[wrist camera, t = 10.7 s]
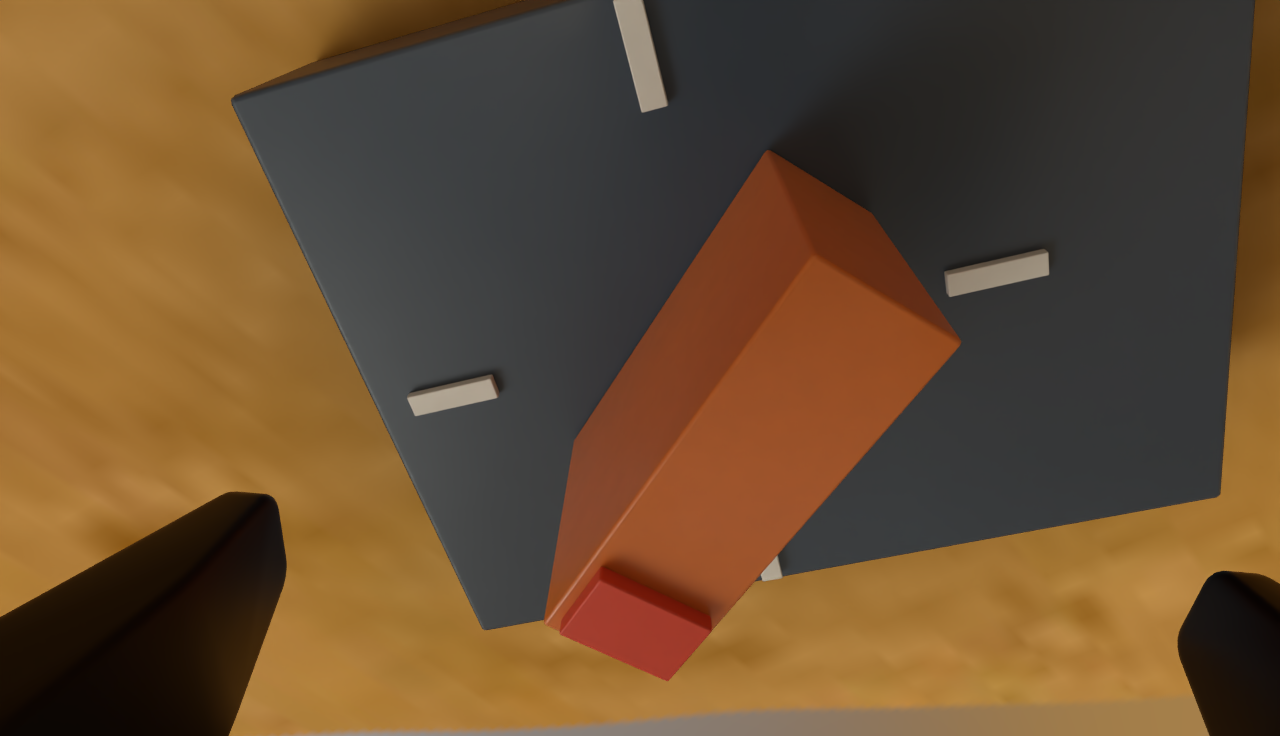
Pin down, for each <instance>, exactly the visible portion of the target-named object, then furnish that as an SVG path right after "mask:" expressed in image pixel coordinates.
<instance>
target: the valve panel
mask: <svg viewBox="0 0 1280 736" xmlns="http://www.w3.org/2000/svg"><path fill="white" fill-rule="evenodd" d="M1254 8H1255V0H525V1H521V2H518V3H515V4H511V5H508V6H504V7H501V8H497V9H494V10H491V11H487V12H484V13H480V14H477V15H473V16H470V17H467V18H463V19H460V20H456V21H453V22H450V23H446V24H443V25H439V26H436V27H432V28H429V29H426V30H422V31H419V32H415V33H412V34H408V35H405V36H402V37H398V38H395V39H391V40H388V41H385V42H381V43H378V44H374V45H371V46H367V47H364V48H361V49H357V50H354V51H350V52H347V53H344V54H340V55H337V56H333V57H330V58H326V59H323V60H320V61H316V62H313V63H310V64H308V65H305V66H303V67H301V68H298V69H296V70H294V71H291V72H289V73H287V74H284V75H282V76H280V77H277V78H275V79H272V80H270V81H268V82H265V83H263V84H261V85H258V86H256V87H254V88H251V89H249V90H247V91H244V92H242V93H240V94H237V95H235V96H234V97H233V98H232V99H231V102H232V106H233V108H234V110H235V112H236V114H237V116H238V118H239V121H240V123H241V125H242V127H243V129H244V131H245V133H246V135H247V137H248V139H249V141H250V144H251V146H252V148H253V150H254V152H255V154H256V156H257V158H258V160H259V162H260V164H261V167H262V169H263V171H264V173H265V175H266V177H267V179H268V181H269V183H270V185H271V187H272V190H273V192H274V194H275V196H276V198H277V200H278V202H279V204H280V206H281V208H282V211H283V213H284V215H285V217H286V219H287V221H288V223H289V225H290V227H291V229H292V231H293V234H294V236H295V238H296V240H297V242H298V244H299V246H300V248H301V250H302V252H303V254H304V257H305V259H306V261H307V263H308V265H309V267H310V269H311V271H312V273H313V275H314V277H315V280H316V282H317V284H318V286H319V288H320V290H321V292H322V294H323V296H324V298H325V300H326V303H327V305H328V307H329V309H330V311H331V313H332V315H333V317H334V319H335V321H336V323H337V326H338V328H339V330H340V332H341V334H342V336H343V338H344V340H345V342H346V344H347V346H348V349H349V351H350V353H351V355H352V357H353V359H354V361H355V363H356V365H357V367H358V369H359V372H360V374H361V376H362V378H363V380H364V382H365V384H366V386H367V388H368V390H369V393H370V395H371V397H372V399H373V401H374V403H375V405H376V407H377V409H378V411H379V413H380V416H381V418H382V420H383V422H384V424H385V426H386V428H387V430H388V432H389V434H390V436H391V439H392V441H393V443H394V445H395V447H396V449H397V451H398V453H399V455H400V457H401V459H402V462H403V464H404V466H405V468H406V470H407V472H408V474H409V476H410V478H411V480H412V482H413V485H414V487H415V489H416V491H417V493H418V495H419V497H420V499H421V501H422V503H423V505H424V508H425V510H426V512H427V514H428V516H429V518H430V520H431V522H432V524H433V526H434V528H435V531H436V533H437V535H438V537H439V539H440V541H441V543H442V545H443V547H444V549H445V551H446V554H447V556H448V558H449V560H450V562H451V564H452V566H453V568H454V570H455V572H456V575H457V577H458V579H459V581H460V583H461V585H462V587H463V589H464V591H465V593H466V595H467V598H468V600H469V602H470V604H471V606H472V608H473V610H474V612H475V614H476V616H477V618H478V621H479V623H480V625H481V627H482V629H484V630H490V629H496V628H501V627H507V626H512V625H518V624H523V623H529V622H534V621H540V620H544V617H545V611H546V605H547V599H548V593H549V587H550V581H551V575H552V569H553V563H554V557H555V551H556V545H557V540H558V534H559V528H560V522H561V516H562V510H563V504H564V498H565V492H566V486H567V480H568V474H569V468H570V462H571V456H572V450H573V444H574V440H575V439H576V437H577V436H578V434H579V433H580V431H581V429H582V428H583V426H584V425H585V423H586V422H587V420H588V419H589V417H590V416H591V414H592V413H593V411H594V410H595V408H596V407H597V405H598V404H599V402H600V401H601V399H602V398H603V396H604V395H605V393H606V392H607V390H608V389H609V387H610V386H611V384H612V383H613V381H614V380H615V378H616V377H617V375H618V374H619V372H620V371H621V369H622V367H623V366H624V364H625V363H626V361H627V360H628V358H629V357H630V355H631V354H632V352H633V351H634V349H635V348H636V346H637V345H638V343H639V342H640V340H641V339H642V337H643V336H644V334H645V333H646V331H647V330H648V328H649V327H650V325H651V324H652V322H653V321H654V319H655V318H656V316H657V315H658V313H659V312H660V310H661V309H662V307H663V305H664V304H665V302H666V301H667V299H668V298H669V296H670V295H671V293H672V292H673V290H674V289H675V287H676V286H677V284H678V283H679V281H680V280H681V278H682V277H683V275H684V274H685V272H686V271H687V269H688V268H689V266H690V265H691V263H692V262H693V260H694V259H695V257H696V256H697V254H698V253H699V251H700V250H701V248H702V246H703V245H704V243H705V242H706V240H707V239H708V237H709V236H710V234H711V233H712V231H713V230H714V228H715V227H716V225H717V224H718V222H719V221H720V219H721V218H722V216H723V215H724V213H725V212H726V210H727V209H728V207H729V206H730V204H731V203H732V201H733V200H734V198H735V197H736V195H737V194H738V192H739V191H740V189H741V188H742V186H743V184H744V183H745V181H746V180H747V178H748V177H749V175H750V174H751V172H752V171H753V169H754V168H755V166H756V165H757V163H758V162H759V160H760V159H761V157H762V156H763V154H764V153H765V152H766V151H767V150H771V151H772V152H774V153H776V154H777V155H779V156H780V157H782V158H784V159H785V160H787V161H788V162H790V163H792V164H793V165H795V166H797V167H798V168H800V169H801V170H803V171H805V172H806V173H808V174H809V175H811V176H813V177H814V178H816V179H817V180H819V181H821V182H822V183H824V184H826V185H827V186H829V187H830V188H832V189H834V190H835V191H837V192H838V193H840V194H842V195H843V196H845V197H846V198H848V199H850V200H851V201H853V202H855V203H856V204H858V205H859V206H861V207H863V208H864V209H866V210H867V211H869V212H871V213H872V214H873V215H874V217H875V218H876V220H877V221H878V223H879V224H880V225H881V227H882V228H883V230H884V231H885V233H886V234H887V235H888V237H889V238H890V240H891V241H892V243H893V244H894V245H895V247H896V248H897V250H898V251H899V253H900V254H901V255H902V257H903V258H904V260H905V261H906V263H907V264H908V265H909V267H910V268H911V270H912V271H913V273H914V274H915V275H916V277H917V278H918V280H919V281H920V283H921V284H922V285H923V287H924V288H925V290H926V291H927V293H928V294H929V295H930V297H931V298H932V300H933V301H934V303H935V304H936V305H937V307H938V308H939V310H940V311H941V313H942V314H943V315H944V317H945V318H946V320H947V321H948V323H949V324H950V325H951V327H952V328H953V330H954V331H955V333H956V334H957V335H958V337H959V338H960V340H961V344H960V346H959V347H958V349H957V350H956V351H955V352H954V353H953V354H952V355H951V357H950V358H949V359H948V360H947V361H946V362H945V364H944V365H943V366H942V367H941V368H940V369H939V370H938V372H937V373H936V374H935V375H934V376H933V377H932V378H931V380H930V381H929V382H928V383H927V384H926V385H925V386H924V388H923V389H922V390H921V391H920V392H919V393H918V395H917V396H916V397H915V398H914V399H913V400H912V401H911V403H910V404H909V405H908V406H907V407H906V408H905V409H904V411H903V412H902V413H901V414H900V415H899V416H898V417H897V419H896V420H895V421H894V422H893V423H892V424H891V425H890V427H889V428H888V429H887V430H886V431H885V432H884V434H883V435H882V436H881V437H880V438H879V439H878V440H877V442H876V443H875V444H874V445H873V446H872V447H871V448H870V450H869V451H868V452H867V453H866V454H865V455H864V456H863V458H862V459H861V460H860V461H859V462H858V463H857V465H856V466H855V467H854V468H853V469H852V470H851V471H850V473H849V474H848V475H847V476H846V477H845V478H844V479H843V481H842V482H841V483H840V484H839V485H838V486H837V487H836V489H835V490H834V491H833V492H832V493H831V494H830V495H829V497H828V498H827V499H826V500H825V501H824V502H823V504H822V505H821V506H820V507H819V508H818V509H817V510H816V512H815V513H814V514H813V515H812V516H811V517H810V518H809V520H808V521H807V522H806V523H805V524H804V525H803V526H802V528H801V529H800V530H799V531H798V532H797V533H796V535H795V536H794V537H793V538H792V539H791V540H790V541H789V543H788V544H787V545H786V546H785V547H784V548H783V549H782V551H781V552H780V553H779V554H778V555H777V556H776V557H775V559H774V560H773V561H772V562H771V563H770V564H769V565H768V567H767V568H766V569H765V570H764V571H763V572H762V574H761V575H760V576H759V577H758V578H757V579H756V580H755V581H759V580H762V581H769V580H774V579H780V578H782V577H783V576H787V575H792V574H798V573H803V572H809V571H814V570H820V569H825V568H831V567H836V566H842V565H847V564H853V563H858V562H864V561H869V560H875V559H880V558H886V557H891V556H897V555H902V554H908V553H913V552H919V551H924V550H929V549H935V548H940V547H946V546H951V545H957V544H962V543H968V542H973V541H979V540H984V539H990V538H995V537H1001V536H1006V535H1012V534H1017V533H1023V532H1028V531H1034V530H1039V529H1045V528H1050V527H1056V526H1061V525H1067V524H1072V523H1078V522H1083V521H1089V520H1094V519H1100V518H1105V517H1111V516H1116V515H1122V514H1127V513H1133V512H1138V511H1144V510H1149V509H1155V508H1160V507H1166V506H1171V505H1177V504H1182V503H1188V502H1193V501H1199V500H1204V499H1210V498H1215V497H1217V496H1219V495H1220V491H1221V477H1222V463H1223V449H1224V434H1225V420H1226V406H1227V392H1228V378H1229V363H1230V349H1231V335H1232V321H1233V307H1234V292H1235V278H1236V264H1237V250H1238V235H1239V221H1240V207H1241V193H1242V179H1243V164H1244V150H1245V136H1246V122H1247V108H1248V93H1249V79H1250V65H1251V51H1252V37H1253V22H1254Z"/></svg>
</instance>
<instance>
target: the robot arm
mask: <svg viewBox="0 0 1280 736" xmlns="http://www.w3.org/2000/svg"><path fill="white" fill-rule="evenodd" d="M286 568H287V562H286V554H285V548H284V541H283V535H282V528H281V522H280V515H279V509H278V505H277V503H276V501H275V499H274V498H273V497H271V496H270V495H268V494H259V493H247V492H228V493H225V494H223V495H221V496H219V497H217V498H215V499H213V500H212V501H210V502H208V503H206V504H204V505H203V506H201V507H199V508H197V509H195V510H193V511H192V512H190V513H188V514H186V515H184V516H183V517H181V518H179V519H177V520H175V521H174V522H172V523H170V524H168V525H166V526H164V527H163V528H161V529H159V530H157V531H155V532H154V533H152V534H150V535H148V536H146V537H145V538H143V539H141V540H139V541H137V542H136V543H134V544H132V545H130V546H128V547H126V548H125V549H123V550H121V551H119V552H117V553H116V554H114V555H112V556H110V557H108V558H107V559H105V560H103V561H101V562H99V563H97V564H96V565H94V566H92V567H90V568H88V569H87V570H85V571H83V572H81V573H79V574H78V575H76V576H74V577H72V578H70V579H68V580H67V581H65V582H63V583H61V584H59V585H58V586H56V587H54V588H52V589H50V590H49V591H47V592H45V593H43V594H41V595H40V596H38V597H36V598H34V599H32V600H30V601H29V602H27V603H25V604H23V605H21V606H20V607H18V608H16V609H14V610H12V611H11V612H9V613H7V614H5V615H3V616H1V617H0V736H229V733H230V731H231V728H232V726H233V723H234V721H235V718H236V715H237V713H238V710H239V708H240V705H241V702H242V699H243V697H244V694H245V691H246V688H247V686H248V683H249V680H250V677H251V674H252V672H253V669H254V666H255V663H256V661H257V658H258V655H259V652H260V650H261V647H262V644H263V641H264V639H265V636H266V633H267V630H268V628H269V625H270V622H271V619H272V616H273V614H274V611H275V608H276V605H277V603H278V600H279V597H280V594H281V592H282V589H283V586H284V582H285V577H286ZM1178 652H1179V657H1180V660H1181V663H1182V665H1183V668H1184V671H1185V673H1186V676H1187V678H1188V681H1189V684H1190V686H1191V689H1192V691H1193V694H1194V696H1195V699H1196V702H1197V704H1198V707H1199V709H1200V712H1201V714H1202V717H1203V720H1204V722H1205V725H1206V728H1207V730H1208V732H1209V735H1210V736H1280V584H1279V583H1278V582H1276V581H1274V580H1272V579H1271V578H1268V577H1266V576H1264V575H1260V574H1255V573H1244V572H1232V571H1220V572H1216V573H1214V574H1213V575H1211V576H1210V577H1209V578H1208V579H1207V580H1206V582H1205V583H1204V585H1203V587H1202V589H1201V591H1200V593H1199V594H1198V596H1197V598H1196V600H1195V602H1194V604H1193V606H1192V608H1191V610H1190V611H1189V613H1188V615H1187V617H1186V619H1185V621H1184V623H1183V625H1182V627H1181V629H1180V631H1179V635H1178Z"/></svg>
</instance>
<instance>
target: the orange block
mask: <svg viewBox="0 0 1280 736" xmlns="http://www.w3.org/2000/svg"><path fill="white" fill-rule="evenodd" d="M960 344H961V340H960V338H959V337H958V335H957V334H956V333H955V331H954V330H953V328H952V327H951V325H950V324H949V323H948V321H947V320H946V318H945V317H944V315H943V314H942V313H941V311H940V310H939V308H938V307H937V305H936V304H935V303H934V301H933V300H932V298H931V297H930V295H929V294H928V293H927V291H926V290H925V288H924V287H923V285H922V284H921V283H920V281H919V280H918V278H917V277H916V275H915V274H914V273H913V271H912V270H911V268H910V267H909V265H908V264H907V263H906V261H905V260H904V258H903V257H902V255H901V254H900V253H899V251H898V250H897V248H896V247H895V245H894V244H893V243H892V241H891V240H890V238H889V237H888V235H887V234H886V233H885V231H884V230H883V228H882V227H881V225H880V224H879V223H878V221H877V220H876V218H875V217H874V215H873V214H872V213H871V212H869V211H867V210H866V209H864V208H863V207H861V206H859V205H858V204H856V203H855V202H853V201H851V200H850V199H848V198H846V197H845V196H843V195H842V194H840V193H838V192H837V191H835V190H834V189H832V188H830V187H829V186H827V185H826V184H824V183H822V182H821V181H819V180H817V179H816V178H814V177H813V176H811V175H809V174H808V173H806V172H805V171H803V170H801V169H800V168H798V167H797V166H795V165H793V164H792V163H790V162H788V161H787V160H785V159H784V158H782V157H780V156H779V155H777V154H776V153H774V152H772V151H771V150H767V151H766V152H765V153H764V154H763V156H762V157H761V159H760V160H759V162H758V163H757V165H756V166H755V168H754V169H753V171H752V172H751V174H750V175H749V177H748V178H747V180H746V181H745V183H744V184H743V186H742V188H741V189H740V191H739V192H738V194H737V195H736V197H735V198H734V200H733V201H732V203H731V204H730V206H729V207H728V209H727V210H726V212H725V213H724V215H723V216H722V218H721V219H720V221H719V222H718V224H717V225H716V227H715V228H714V230H713V231H712V233H711V234H710V236H709V237H708V239H707V240H706V242H705V243H704V245H703V246H702V248H701V250H700V251H699V253H698V254H697V256H696V257H695V259H694V260H693V262H692V263H691V265H690V266H689V268H688V269H687V271H686V272H685V274H684V275H683V277H682V278H681V280H680V281H679V283H678V284H677V286H676V287H675V289H674V290H673V292H672V293H671V295H670V296H669V298H668V299H667V301H666V302H665V304H664V305H663V307H662V309H661V310H660V312H659V313H658V315H657V316H656V318H655V319H654V321H653V322H652V324H651V325H650V327H649V328H648V330H647V331H646V333H645V334H644V336H643V337H642V339H641V340H640V342H639V343H638V345H637V346H636V348H635V349H634V351H633V352H632V354H631V355H630V357H629V358H628V360H627V361H626V363H625V364H624V366H623V367H622V369H621V371H620V372H619V374H618V375H617V377H616V378H615V380H614V381H613V383H612V384H611V386H610V387H609V389H608V390H607V392H606V393H605V395H604V396H603V398H602V399H601V401H600V402H599V404H598V405H597V407H596V408H595V410H594V411H593V413H592V414H591V416H590V417H589V419H588V420H587V422H586V423H585V425H584V426H583V428H582V429H581V431H580V433H579V434H578V436H577V437H576V439H575V440H574V444H573V450H572V456H571V462H570V468H569V474H568V480H567V486H566V492H565V498H564V504H563V510H562V516H561V522H560V528H559V534H558V540H557V545H556V551H555V557H554V563H553V569H552V575H551V581H550V587H549V593H548V599H547V605H546V611H545V617H544V624H546V625H547V626H549V627H552V628H554V629H556V630H558V631H560V634H561V635H563V636H565V637H567V638H569V639H572V640H574V641H576V642H579V643H581V644H583V645H585V646H588V647H590V648H592V649H595V650H597V651H599V652H601V653H604V654H606V655H608V656H611V657H613V658H615V659H617V660H620V661H622V662H624V663H627V664H629V665H631V666H634V667H636V668H638V669H640V670H643V671H645V672H647V673H650V674H652V675H654V676H656V677H659V678H661V679H663V680H666V681H669V680H670V678H671V677H672V676H673V675H674V674H675V673H676V672H677V670H678V669H679V668H680V667H681V666H682V665H683V664H684V662H685V661H686V660H687V659H688V658H689V657H690V656H691V654H692V653H693V652H694V651H695V650H696V649H697V647H698V646H699V645H700V644H701V643H702V642H703V641H704V639H705V638H706V637H707V636H708V635H709V634H710V633H711V631H712V630H713V629H714V627H715V626H716V625H717V624H718V623H719V622H720V621H721V619H722V618H723V617H724V616H725V615H726V614H727V613H728V611H729V610H730V609H731V608H732V607H733V606H734V605H735V603H736V602H737V601H738V600H739V599H740V598H741V596H742V595H743V594H744V593H745V592H746V591H747V590H748V588H749V587H750V586H751V585H752V584H753V583H754V582H755V580H756V579H757V578H758V577H759V576H760V575H761V574H762V572H763V571H764V570H765V569H766V568H767V567H768V565H769V564H770V563H771V562H772V561H773V560H774V559H775V557H776V556H777V555H778V554H779V553H780V552H781V551H782V549H783V548H784V547H785V546H786V545H787V544H788V543H789V541H790V540H791V539H792V538H793V537H794V536H795V535H796V533H797V532H798V531H799V530H800V529H801V528H802V526H803V525H804V524H805V523H806V522H807V521H808V520H809V518H810V517H811V516H812V515H813V514H814V513H815V512H816V510H817V509H818V508H819V507H820V506H821V505H822V504H823V502H824V501H825V500H826V499H827V498H828V497H829V495H830V494H831V493H832V492H833V491H834V490H835V489H836V487H837V486H838V485H839V484H840V483H841V482H842V481H843V479H844V478H845V477H846V476H847V475H848V474H849V473H850V471H851V470H852V469H853V468H854V467H855V466H856V465H857V463H858V462H859V461H860V460H861V459H862V458H863V456H864V455H865V454H866V453H867V452H868V451H869V450H870V448H871V447H872V446H873V445H874V444H875V443H876V442H877V440H878V439H879V438H880V437H881V436H882V435H883V434H884V432H885V431H886V430H887V429H888V428H889V427H890V425H891V424H892V423H893V422H894V421H895V420H896V419H897V417H898V416H899V415H900V414H901V413H902V412H903V411H904V409H905V408H906V407H907V406H908V405H909V404H910V403H911V401H912V400H913V399H914V398H915V397H916V396H917V395H918V393H919V392H920V391H921V390H922V389H923V388H924V386H925V385H926V384H927V383H928V382H929V381H930V380H931V378H932V377H933V376H934V375H935V374H936V373H937V372H938V370H939V369H940V368H941V367H942V366H943V365H944V364H945V362H946V361H947V360H948V359H949V358H950V357H951V355H952V354H953V353H954V352H955V351H956V350H957V349H958V347H959V346H960Z"/></svg>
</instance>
